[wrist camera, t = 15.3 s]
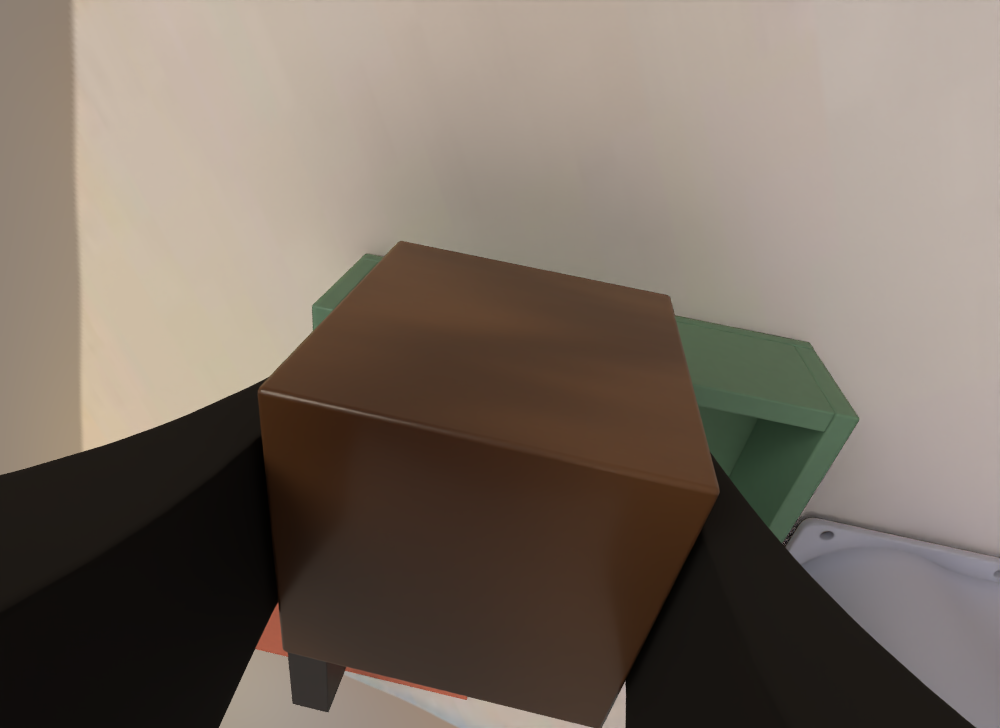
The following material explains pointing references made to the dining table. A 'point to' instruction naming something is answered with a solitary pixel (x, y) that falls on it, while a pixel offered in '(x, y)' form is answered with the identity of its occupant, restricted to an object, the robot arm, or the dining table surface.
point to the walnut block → (484, 480)
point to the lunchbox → (741, 407)
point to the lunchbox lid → (317, 672)
